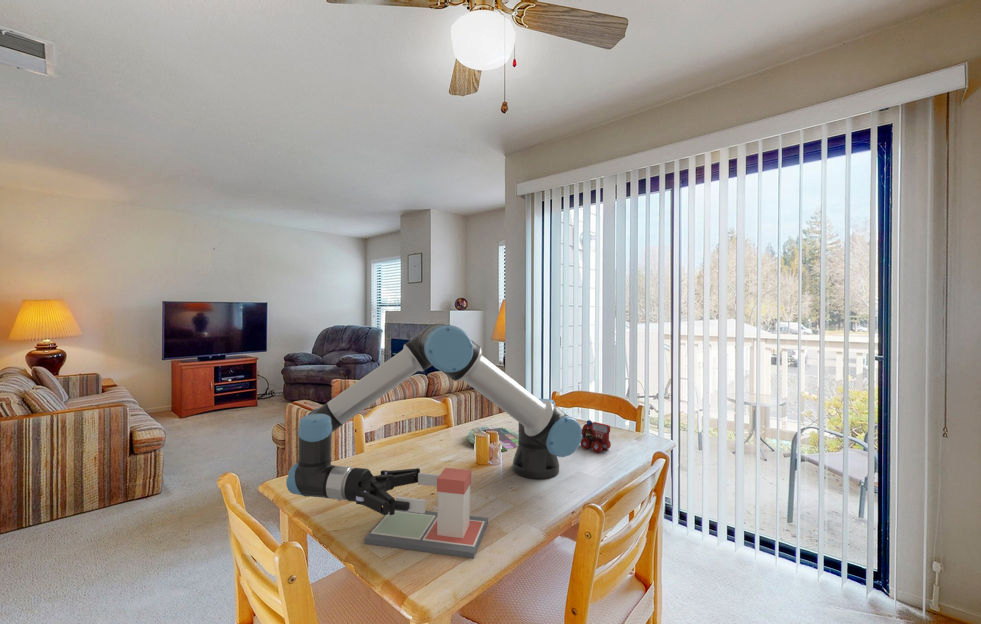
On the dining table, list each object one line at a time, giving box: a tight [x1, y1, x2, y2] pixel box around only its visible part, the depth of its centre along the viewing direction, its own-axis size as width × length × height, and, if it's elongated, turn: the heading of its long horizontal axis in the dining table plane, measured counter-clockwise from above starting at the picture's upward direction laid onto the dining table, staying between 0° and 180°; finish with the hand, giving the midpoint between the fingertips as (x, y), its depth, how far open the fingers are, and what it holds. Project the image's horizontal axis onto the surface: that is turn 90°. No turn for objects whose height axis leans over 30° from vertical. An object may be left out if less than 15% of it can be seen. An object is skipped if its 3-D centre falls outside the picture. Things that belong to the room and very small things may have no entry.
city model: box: [465, 425, 519, 453], centre depth 166 cm, size 25×23×6 cm
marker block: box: [436, 467, 472, 538], centre depth 98 cm, size 6×6×13 cm
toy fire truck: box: [580, 419, 611, 454], centre depth 160 cm, size 7×12×10 cm, turn 41°
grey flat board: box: [364, 510, 489, 559], centre depth 100 cm, size 25×15×1 cm, turn 79°
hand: (435, 492), depth 99 cm, fingers open, 13 cm apart
